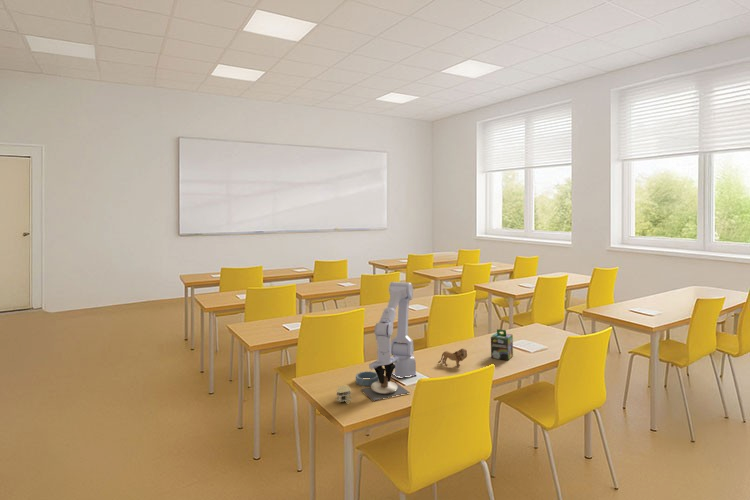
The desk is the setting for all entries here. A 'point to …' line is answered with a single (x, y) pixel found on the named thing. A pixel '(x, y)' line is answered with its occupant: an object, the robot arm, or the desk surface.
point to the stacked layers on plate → (343, 394)
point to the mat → (377, 396)
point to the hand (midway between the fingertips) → (384, 381)
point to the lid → (384, 386)
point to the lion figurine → (454, 356)
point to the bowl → (366, 374)
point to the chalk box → (502, 345)
